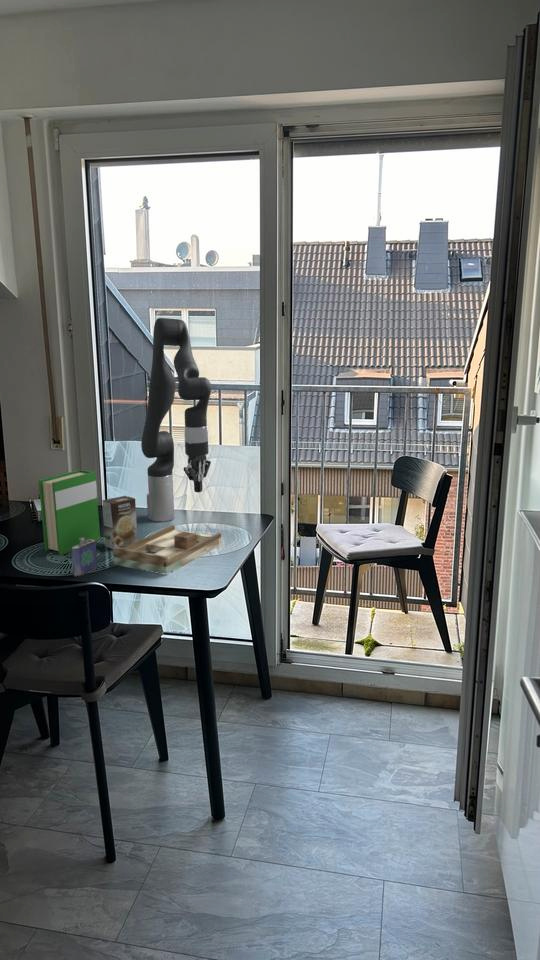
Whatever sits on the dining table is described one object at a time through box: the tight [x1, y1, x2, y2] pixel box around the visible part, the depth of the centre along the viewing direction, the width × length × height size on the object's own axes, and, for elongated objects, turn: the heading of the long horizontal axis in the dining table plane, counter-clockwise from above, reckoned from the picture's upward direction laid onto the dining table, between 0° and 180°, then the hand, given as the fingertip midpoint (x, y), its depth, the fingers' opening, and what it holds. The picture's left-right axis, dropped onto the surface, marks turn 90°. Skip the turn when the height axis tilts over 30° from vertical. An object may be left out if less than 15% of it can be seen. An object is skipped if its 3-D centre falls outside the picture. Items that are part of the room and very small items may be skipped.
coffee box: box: [102, 495, 138, 550], centre depth 230 cm, size 9×6×16 cm
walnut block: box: [174, 531, 197, 550], centre depth 222 cm, size 5×5×4 cm
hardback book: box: [38, 469, 101, 555], centre depth 230 cm, size 18×7×24 cm, turn 147°
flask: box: [71, 538, 98, 577], centre depth 208 cm, size 9×3×11 cm, turn 151°
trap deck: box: [112, 524, 222, 574], centre depth 222 cm, size 20×31×6 cm, turn 152°
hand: (198, 491), depth 226 cm, fingers closed
